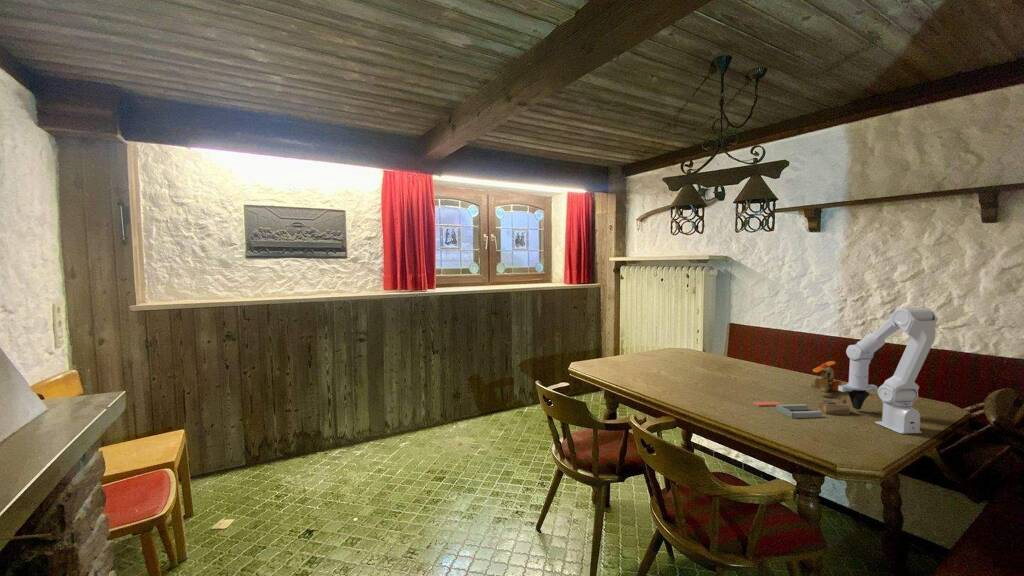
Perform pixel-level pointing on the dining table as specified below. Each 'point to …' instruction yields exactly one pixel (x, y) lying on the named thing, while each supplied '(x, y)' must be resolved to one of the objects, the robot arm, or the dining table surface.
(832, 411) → the fuselage block
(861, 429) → the dining table surface
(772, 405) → the wing plank
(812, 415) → the cradle jig
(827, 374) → the orange handled valve
